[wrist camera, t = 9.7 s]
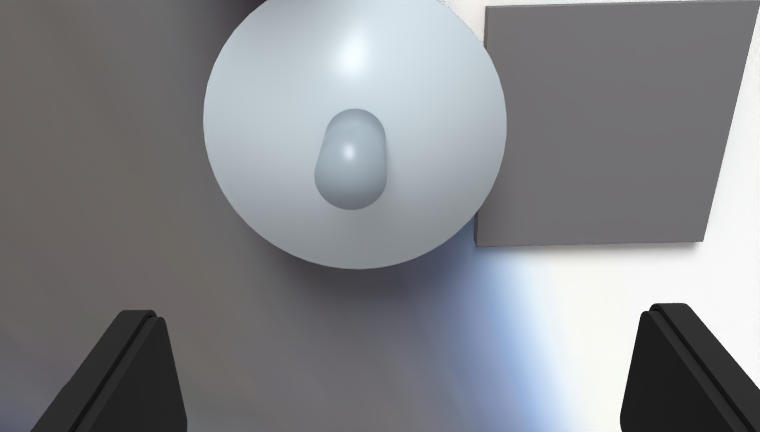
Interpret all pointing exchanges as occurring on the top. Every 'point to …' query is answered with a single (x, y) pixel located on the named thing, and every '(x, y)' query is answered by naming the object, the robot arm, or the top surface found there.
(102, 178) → the top surface
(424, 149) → the lid
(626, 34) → the mat
